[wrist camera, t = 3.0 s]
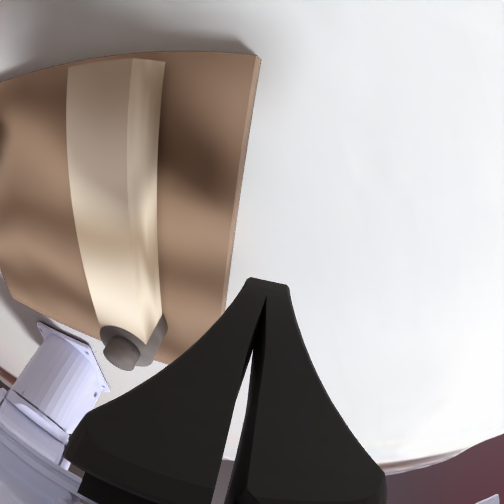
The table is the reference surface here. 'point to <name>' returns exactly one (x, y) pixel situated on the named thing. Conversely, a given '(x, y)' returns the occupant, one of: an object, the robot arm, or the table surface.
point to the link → (118, 200)
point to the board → (168, 191)
